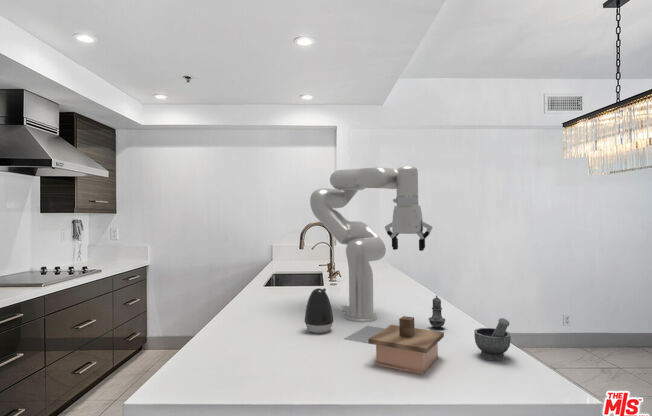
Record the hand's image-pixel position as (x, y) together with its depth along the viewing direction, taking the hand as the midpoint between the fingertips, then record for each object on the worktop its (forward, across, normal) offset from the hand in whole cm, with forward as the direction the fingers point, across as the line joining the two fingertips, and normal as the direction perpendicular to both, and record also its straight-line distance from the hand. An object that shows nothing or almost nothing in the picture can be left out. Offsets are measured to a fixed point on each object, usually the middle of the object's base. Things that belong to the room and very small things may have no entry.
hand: (408, 250), depth 141 cm
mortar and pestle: (+28, +30, -14) cm, 44 cm away
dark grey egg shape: (+28, -27, -17) cm, 43 cm away
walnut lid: (+22, +10, -29) cm, 38 cm away
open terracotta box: (+28, +10, -29) cm, 42 cm away
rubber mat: (+28, -6, -12) cm, 31 cm away
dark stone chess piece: (+28, +8, +6) cm, 30 cm away
